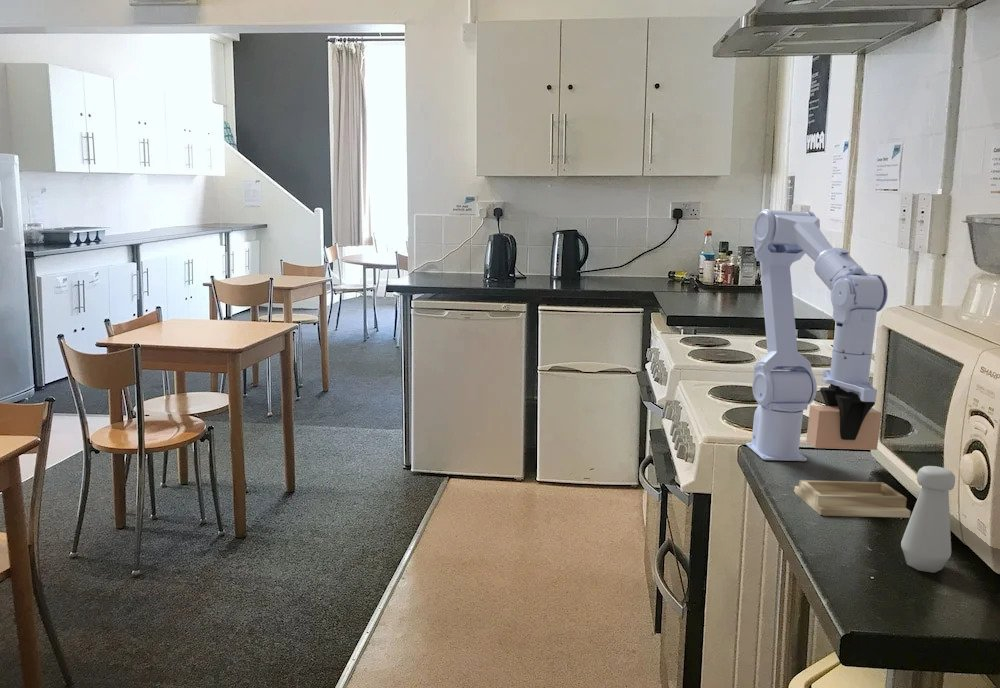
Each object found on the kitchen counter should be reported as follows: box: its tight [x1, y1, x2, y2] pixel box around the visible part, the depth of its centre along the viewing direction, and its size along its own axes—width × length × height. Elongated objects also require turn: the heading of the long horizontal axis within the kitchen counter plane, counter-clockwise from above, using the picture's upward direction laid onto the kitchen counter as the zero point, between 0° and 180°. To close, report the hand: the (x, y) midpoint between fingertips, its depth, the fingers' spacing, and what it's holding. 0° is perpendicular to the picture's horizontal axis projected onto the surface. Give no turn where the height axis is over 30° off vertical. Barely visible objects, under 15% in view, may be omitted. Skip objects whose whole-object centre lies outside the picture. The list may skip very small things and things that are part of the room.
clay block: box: [805, 405, 882, 451], centre depth 139 cm, size 4×10×6 cm, turn 94°
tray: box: [793, 479, 912, 519], centre depth 134 cm, size 10×14×2 cm
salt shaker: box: [900, 465, 956, 574], centre depth 112 cm, size 6×6×13 cm
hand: (842, 435), depth 139 cm, fingers closed on clay block, 3 cm apart
